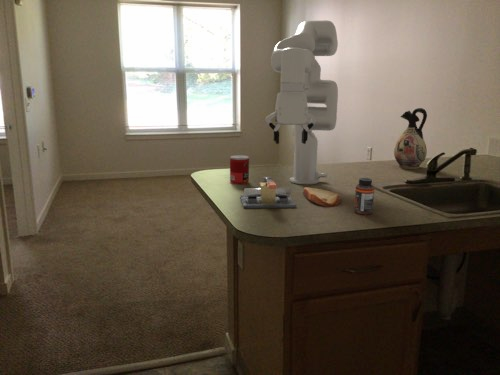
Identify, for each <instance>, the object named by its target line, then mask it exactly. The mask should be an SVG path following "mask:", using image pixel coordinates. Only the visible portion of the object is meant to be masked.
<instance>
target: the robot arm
mask: <svg viewBox="0 0 500 375" xmlns="http://www.w3.org/2000/svg"><path fill="white" fill-rule="evenodd" d="M338 44H339V43H338V35H337V29H336V26H335V24H334V23H333V22H332V21H330V20H306V21H303V22H301V23H299V24H298V26H297V27H296V30H295V32H294V34H293V35H291V36H289V37H287V38H284V39H283V40H280V41H278V42H277V43H276V45H275V46H274V48H273V51H272V53H271V58H270V65H271V68H272V70H273V71H274V72H276V73H280V92H277V94H276V101H275V106H274V107H275V108H274V112H272V113H270V114H269V115H267V116H266V117H265V122H266V123H267V125H268V127H270V128H271V130H273V142H274V143H275V144H276V145H279V144H280V132H279V129H280V127H281V126H282V125H286V126H287V125H289V126H291V125H293V126H294V155H293V156H294V158H293V176H292V177H289V181H290V182H291V183H293V184H297V185H317V184H319V183H320V178H322V179H324V178H328V173H327V172H319V171H318V170H317V162H318V161H317V160H318V138H317V136H316V135H315V134H314V132H313V131H323V132H324V131H333V130H335V128H336V126H337V118H338V117H337V116H338V115H337V114H338V100H339V90H338V89H339V88H338V84H337V82H336V81H334V80H330V79H321V71H322V69H321V65H320V63H319V62H318V60H317V59H316V57H332V56H334V55H335V54H336V53H337V50H338V46H339V45H338ZM308 104H317V105H318V104H320V105H325V106H308ZM273 118H274V121H275V124H273V122H272V119H273Z"/></svg>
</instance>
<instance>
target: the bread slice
mask: <svg viewBox="0 0 500 375" xmlns="http://www.w3.org/2000/svg"><path fill="white" fill-rule="evenodd" d="M302 195H303V196H304V197H305V198H306V199H307V200H308V201H310V202H312V203H314V204H316V205H318V206H320V207H326V208H332V207H337V206H338V205H339V204H341V201H342V200H341V196H340V195H339V193H337V192H335V191H329V190H325V189H321V188H316V187H308V186H307V187H304V188H303V191H302Z"/></svg>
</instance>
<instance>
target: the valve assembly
mask: <svg viewBox="0 0 500 375" xmlns="http://www.w3.org/2000/svg"><path fill="white" fill-rule="evenodd" d="M258 186H259V187H256V188H255V187H247V188H244V190H243V191H244V192H243V194H239V199H240V201H241V205H242V207H243V209H276V208H277V209H280V208H281V209H285V208H286V209H287V208H294V209H296V208H297V203H296V201H294V200H293V199H292V197H291V194H292V193H291V188H290V187H276V189H269V188H268V186H267V183H266V182H259V185H258Z"/></svg>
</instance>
